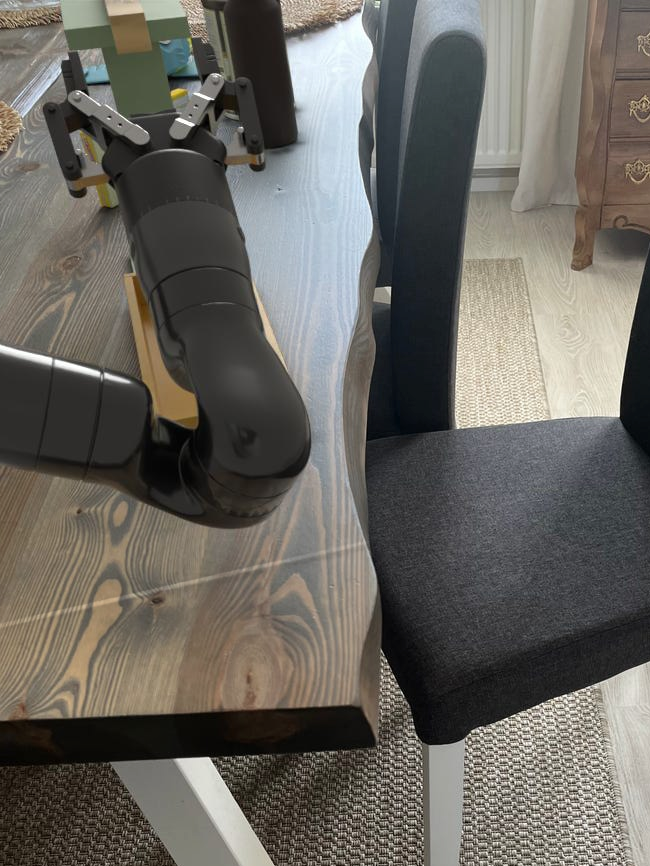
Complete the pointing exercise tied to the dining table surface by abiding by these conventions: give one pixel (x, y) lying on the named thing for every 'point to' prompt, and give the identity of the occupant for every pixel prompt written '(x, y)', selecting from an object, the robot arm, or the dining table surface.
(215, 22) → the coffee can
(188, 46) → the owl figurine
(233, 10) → the bottle
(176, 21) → the stand
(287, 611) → the dining table surface
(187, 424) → the tray
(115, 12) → the birch bar
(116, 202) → the candy box
